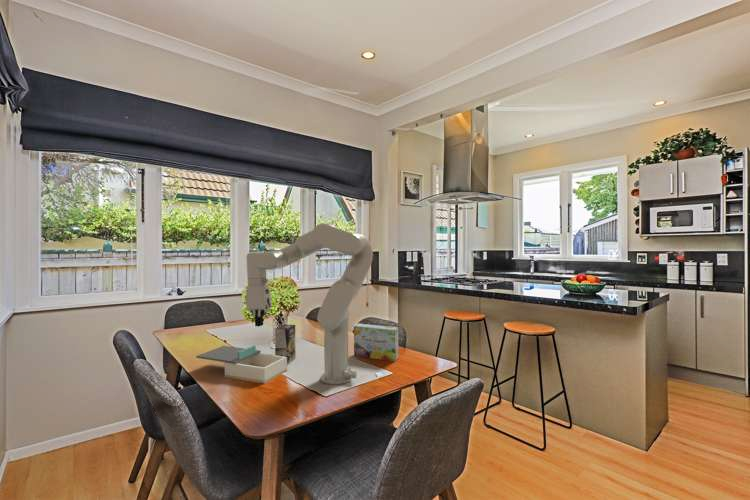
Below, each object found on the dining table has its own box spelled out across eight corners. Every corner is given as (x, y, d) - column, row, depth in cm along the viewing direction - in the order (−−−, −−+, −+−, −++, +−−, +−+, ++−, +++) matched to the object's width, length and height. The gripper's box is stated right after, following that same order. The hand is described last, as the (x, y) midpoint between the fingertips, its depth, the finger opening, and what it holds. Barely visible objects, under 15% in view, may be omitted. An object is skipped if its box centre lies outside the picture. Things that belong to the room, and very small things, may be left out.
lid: (260, 352, 167) (260, 343, 167) (235, 363, 153) (234, 354, 153) (223, 347, 175) (223, 339, 175) (196, 357, 160) (196, 348, 160)
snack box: (353, 356, 181) (353, 325, 180) (358, 353, 186) (358, 322, 186) (395, 362, 173) (395, 329, 173) (399, 358, 178) (399, 326, 178)
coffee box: (288, 364, 170) (287, 329, 169) (274, 363, 171) (274, 328, 170) (296, 358, 179) (295, 324, 178) (283, 357, 180) (283, 323, 179)
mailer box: (287, 370, 162) (286, 357, 162) (264, 383, 148) (264, 368, 148) (249, 365, 169) (249, 351, 169) (224, 376, 155) (224, 362, 155)
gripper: (277, 280, 158) (279, 324, 158) (248, 280, 163) (250, 322, 164) (266, 283, 151) (268, 328, 151) (236, 282, 156) (238, 326, 157)
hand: (259, 325), depth 157 cm, fingers closed
